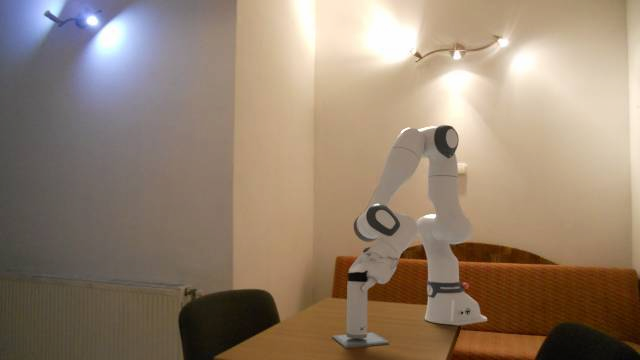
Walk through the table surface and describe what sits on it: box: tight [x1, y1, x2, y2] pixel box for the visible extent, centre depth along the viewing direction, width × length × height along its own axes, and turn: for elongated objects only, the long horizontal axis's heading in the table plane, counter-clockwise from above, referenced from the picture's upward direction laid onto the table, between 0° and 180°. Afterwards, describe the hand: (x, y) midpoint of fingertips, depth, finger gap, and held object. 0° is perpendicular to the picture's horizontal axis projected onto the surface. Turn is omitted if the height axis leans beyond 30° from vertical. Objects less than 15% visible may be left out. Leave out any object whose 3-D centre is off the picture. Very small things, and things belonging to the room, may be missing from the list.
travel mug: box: [345, 271, 368, 339], centre depth 141 cm, size 6×7×20 cm
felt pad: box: [331, 331, 390, 349], centre depth 141 cm, size 14×12×1 cm
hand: (356, 289), depth 142 cm, fingers closed on travel mug, 6 cm apart
